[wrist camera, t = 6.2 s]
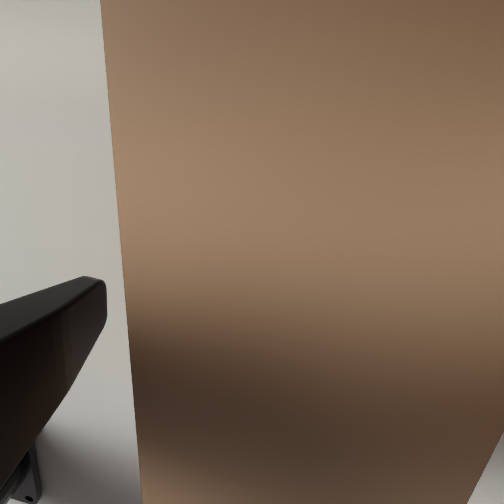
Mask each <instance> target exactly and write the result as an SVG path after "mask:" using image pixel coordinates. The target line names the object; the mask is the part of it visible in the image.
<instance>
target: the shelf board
mask: <svg viewBox="0 0 504 504" xmlns="http://www.w3.org/2000/svg"><path fill="white" fill-rule="evenodd" d="M100 3H101V15H102V27H103V39H104V51H105V63H106V74H107V86H108V98H109V110H110V122H111V134H112V146H113V158H114V170H115V182H116V194H117V206H118V218H119V230H120V242H121V253H122V265H123V277H124V289H125V301H126V313H127V325H128V337H129V349H130V361H131V373H132V385H133V397H134V409H135V420H136V432H137V444H138V456H139V468H140V480H141V492H142V504H467V502H468V500H469V498H470V497H471V495H472V493H473V491H474V489H475V487H476V485H477V483H478V481H479V479H480V477H481V475H482V473H483V471H484V469H485V467H486V465H487V463H488V461H489V459H490V457H491V455H492V453H493V451H494V449H495V447H496V445H497V443H498V441H499V439H500V437H501V435H502V433H503V432H504V0H100Z"/></svg>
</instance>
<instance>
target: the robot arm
mask: <svg viewBox="0 0 504 504" xmlns="http://www.w3.org/2000/svg"><path fill="white" fill-rule="evenodd" d="M106 319H107V291H106V284H105V282H104V281H103V280H100V279H96V278H92V277H88V276H82V277H79V278H76V279H73V280H70V281H67V282H64V283H61V284H58V285H55V286H52V287H49V288H46V289H44V290H41V291H38V292H35V293H32V294H29V295H26V296H23V297H20V298H17V299H14V300H11V301H8V302H5V303H2V304H0V504H7V503H8V501H9V500H10V498H12V499H15V500H18V501H22V502H25V503H28V504H37V503H38V501H39V500H40V498H41V497H42V492H41V485H40V479H39V473H38V467H37V461H36V455H35V449H34V443H33V442H34V441H35V439H36V438H37V436H38V435H39V434H40V432H41V431H42V429H43V428H44V426H45V425H46V423H47V422H48V421H49V419H50V418H51V416H52V415H53V413H54V412H55V411H56V409H57V408H58V406H59V405H60V403H61V402H62V400H63V399H64V397H65V396H66V394H67V393H68V391H69V389H70V388H71V386H72V384H73V383H74V381H75V379H76V377H77V375H78V373H79V372H80V370H81V368H82V366H83V364H84V362H85V361H86V359H87V357H88V355H89V353H90V351H91V350H92V348H93V346H94V344H95V342H96V341H97V339H98V337H99V335H100V333H101V331H102V330H103V328H104V326H105V323H106Z"/></svg>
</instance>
